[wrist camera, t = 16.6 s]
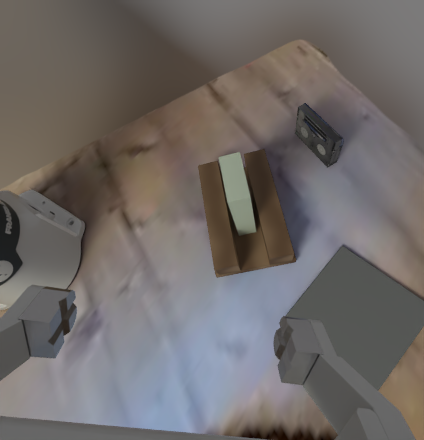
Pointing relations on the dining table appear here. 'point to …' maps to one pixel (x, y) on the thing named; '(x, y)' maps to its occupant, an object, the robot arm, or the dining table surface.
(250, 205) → the tall sage green pillar
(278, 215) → the rack
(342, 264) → the mat
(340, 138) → the mini dv tape
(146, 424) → the dining table surface
